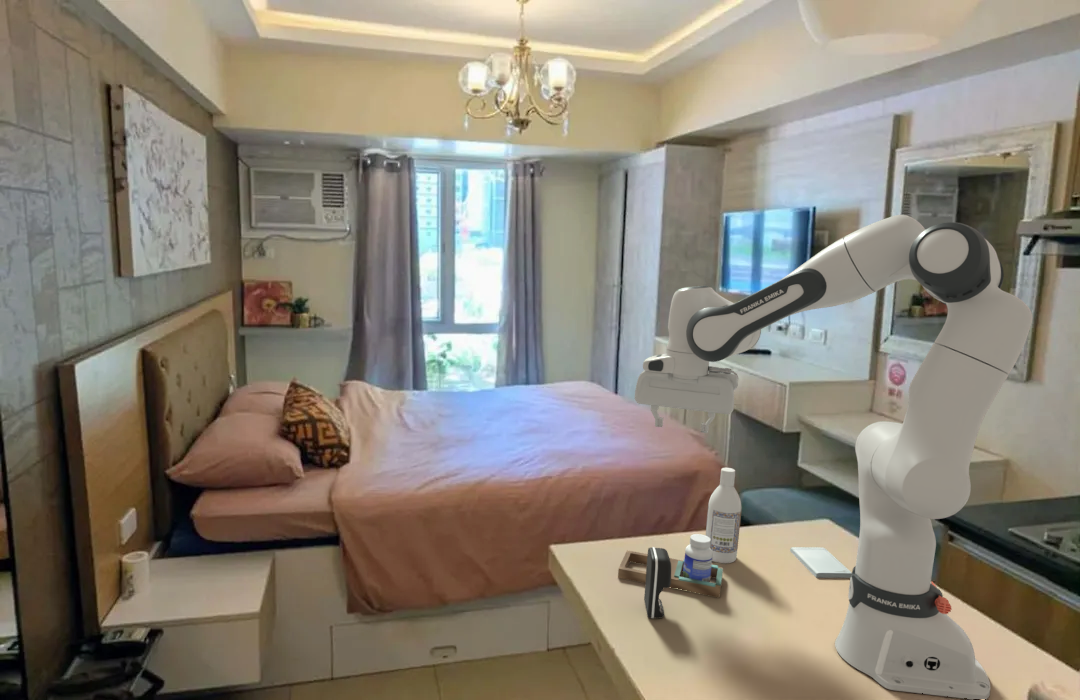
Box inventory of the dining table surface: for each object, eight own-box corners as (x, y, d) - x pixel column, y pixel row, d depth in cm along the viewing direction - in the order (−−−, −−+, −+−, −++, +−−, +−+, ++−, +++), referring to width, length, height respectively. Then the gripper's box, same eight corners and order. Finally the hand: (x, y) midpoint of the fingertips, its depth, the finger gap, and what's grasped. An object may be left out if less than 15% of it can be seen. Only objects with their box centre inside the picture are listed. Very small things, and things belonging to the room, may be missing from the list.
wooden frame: (722, 577, 140) (723, 566, 140) (719, 597, 132) (720, 586, 131) (626, 559, 146) (627, 549, 146) (617, 577, 138) (618, 567, 137)
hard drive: (854, 573, 142) (825, 546, 155) (816, 573, 142) (790, 546, 154) (853, 580, 143) (824, 553, 155) (815, 580, 142) (789, 553, 154)
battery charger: (668, 621, 122) (673, 561, 121) (647, 619, 123) (652, 560, 121) (663, 601, 129) (668, 544, 128) (643, 599, 130) (647, 543, 128)
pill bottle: (680, 576, 140) (684, 531, 138) (706, 577, 140) (710, 532, 138) (684, 589, 134) (688, 542, 133) (712, 591, 134) (716, 544, 133)
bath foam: (742, 563, 147) (751, 474, 144) (712, 565, 145) (721, 475, 142) (726, 549, 153) (735, 464, 150) (698, 550, 152) (706, 464, 149)
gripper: (739, 366, 140) (733, 431, 142) (640, 357, 146) (636, 419, 148) (738, 371, 134) (732, 439, 136) (635, 361, 140) (631, 426, 142)
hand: (681, 429), depth 142 cm, fingers open, 8 cm apart
